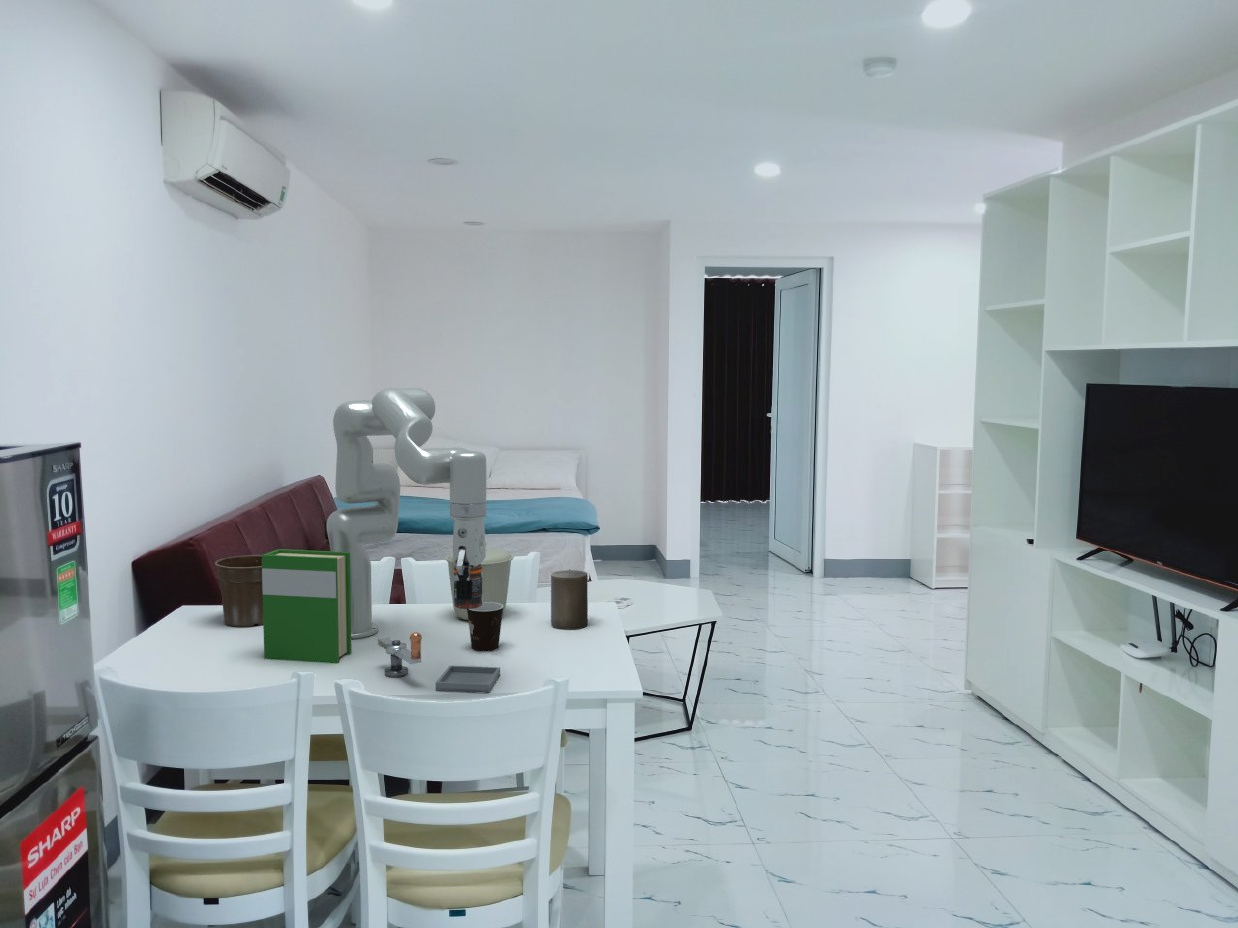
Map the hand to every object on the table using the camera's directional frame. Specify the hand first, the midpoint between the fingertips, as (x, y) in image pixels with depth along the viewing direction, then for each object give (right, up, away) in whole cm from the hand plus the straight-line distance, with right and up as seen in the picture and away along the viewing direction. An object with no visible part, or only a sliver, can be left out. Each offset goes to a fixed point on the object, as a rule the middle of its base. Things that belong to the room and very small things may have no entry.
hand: (468, 594), depth 196 cm
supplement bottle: (0, -3, 0) cm, 3 cm away
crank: (-15, -13, +5) cm, 21 cm away
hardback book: (-40, -17, +19) cm, 47 cm away
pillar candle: (+19, -15, +48) cm, 54 cm away
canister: (-6, -14, +55) cm, 57 cm away
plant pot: (-65, -14, +48) cm, 82 cm away
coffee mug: (0, -17, +26) cm, 31 cm away
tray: (0, -19, +2) cm, 19 cm away
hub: (-17, -18, +7) cm, 26 cm away
